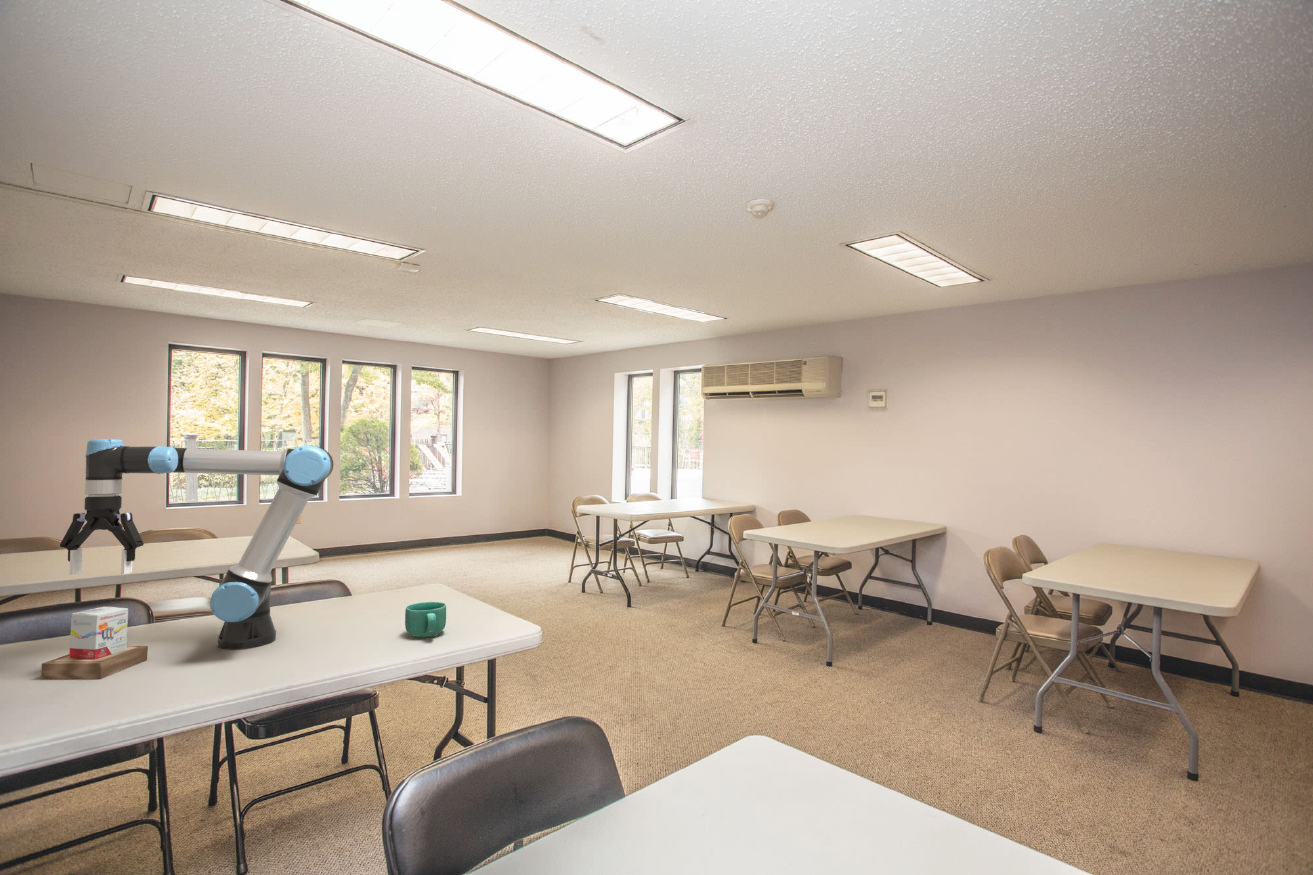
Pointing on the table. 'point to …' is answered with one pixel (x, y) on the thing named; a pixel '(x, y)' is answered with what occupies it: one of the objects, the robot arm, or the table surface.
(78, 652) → the ink box
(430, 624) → the mug
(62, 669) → the riser
